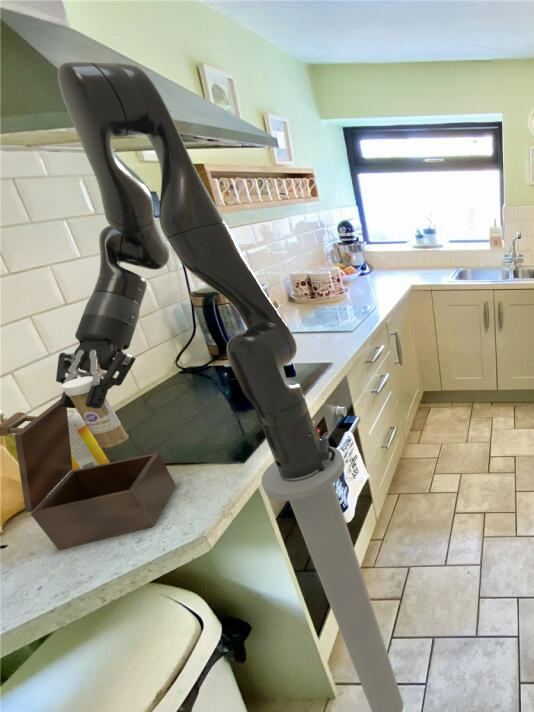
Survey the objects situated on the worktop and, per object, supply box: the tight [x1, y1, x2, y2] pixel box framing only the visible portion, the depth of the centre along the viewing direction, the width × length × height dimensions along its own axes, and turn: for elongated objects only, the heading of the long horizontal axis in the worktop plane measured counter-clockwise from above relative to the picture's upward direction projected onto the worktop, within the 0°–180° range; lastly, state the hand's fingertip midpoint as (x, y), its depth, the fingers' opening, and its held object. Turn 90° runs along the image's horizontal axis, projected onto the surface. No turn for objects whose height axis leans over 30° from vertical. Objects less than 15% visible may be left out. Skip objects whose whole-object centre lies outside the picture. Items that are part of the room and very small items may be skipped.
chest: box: [30, 452, 177, 551], centre depth 81 cm, size 15×13×9 cm
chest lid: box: [0, 398, 73, 513], centre depth 73 cm, size 15×13×5 cm
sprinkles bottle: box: [61, 376, 129, 449], centre depth 78 cm, size 5×5×13 cm
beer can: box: [67, 409, 111, 471], centre depth 92 cm, size 6×6×15 cm
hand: (80, 406), depth 75 cm, fingers closed on sprinkles bottle, 4 cm apart
